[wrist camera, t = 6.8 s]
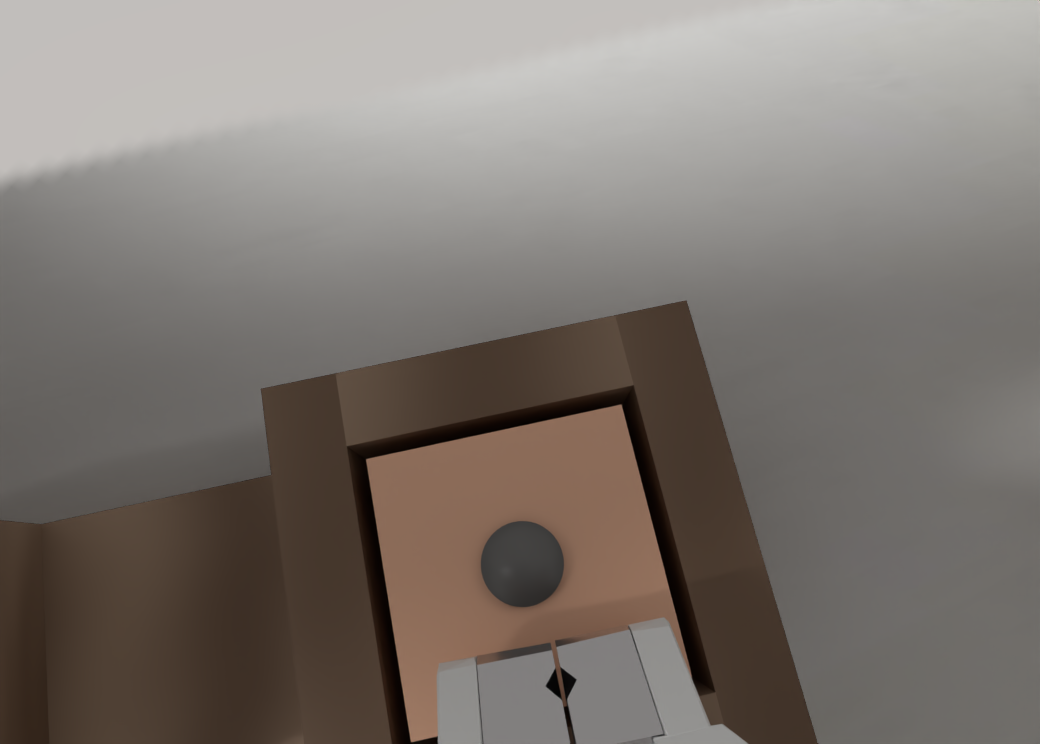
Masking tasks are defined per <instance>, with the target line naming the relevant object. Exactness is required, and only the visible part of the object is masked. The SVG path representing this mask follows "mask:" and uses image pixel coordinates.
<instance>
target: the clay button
mask: <svg viewBox="0 0 1040 744" xmlns="http://www.w3.org/2000/svg"><path fill="white" fill-rule="evenodd" d="M366 462H367V468H368V474H369V481H370V487H371V493H372V500H373V506H374V512H375V518H376V525H377V531H378V537H379V544H380V550H381V556H382V563H383V569H384V575H385V582H386V588H387V594H388V600H389V607H390V613H391V619H392V626H393V632H394V638H395V645H396V651H397V657H398V664H399V670H400V676H401V683H402V689H403V695H404V701H405V708H406V714H407V720H408V727H409V733H410V739H411V742H415V741H419V740H424V739H428V738H432V737H437V736H438V720H437V671H438V666H439V663H444V662H449V661H454V660H459V659H465V658H470V657H475V656H479V655H484V654H490V653H495V652H501V651H506V650H512V649H517V648H523V647H529V646H534V645H540V644H545V643H551V647H552V652H553V657H554V662H555V667H556V672H557V677H558V682H559V687H560V692H561V697H562V702H563V707H565V706H567V703H566V698H565V693H564V688H563V683H562V677H561V672H560V667H559V661H558V656H557V650H556V645H555V640H559V639H563V638H568V637H572V636H577V635H581V634H586V633H590V632H595V631H599V630H604V629H608V628H613V627H617V626H622V625H627V627H628V625H629V624H634V623H639V622H644V621H648V620H653V619H658V618H663V617H664V618H665V619H666V620H667V621H668V622H669V623H670V625H671V628H672V630H673V633H674V635H675V638H676V640H677V643H678V645H679V648H680V650H681V653H682V655H683V658H684V660H685V663H686V665H687V668H688V670H689V673H690V675H691V677H692V674H691V670H690V666H689V663H688V659H687V655H686V651H685V647H684V643H683V640H682V636H681V632H680V628H679V624H678V620H677V616H676V613H675V609H674V605H673V601H672V597H671V593H670V589H669V586H668V582H667V578H666V574H665V570H664V566H663V562H662V559H661V555H660V551H659V547H658V543H657V539H656V536H655V532H654V528H653V524H652V520H651V516H650V512H649V509H648V505H647V501H646V497H645V493H644V489H643V485H642V482H641V478H640V474H639V470H638V466H637V462H636V459H635V455H634V451H633V447H632V443H631V439H630V435H629V432H628V428H627V424H626V420H625V416H624V412H623V408H622V405H617V406H612V407H607V408H603V409H598V410H593V411H589V412H584V413H579V414H575V415H570V416H565V417H561V418H556V419H551V420H547V421H542V422H537V423H533V424H528V425H523V426H519V427H514V428H509V429H505V430H500V431H495V432H491V433H486V434H481V435H477V436H472V437H467V438H463V439H458V440H453V441H449V442H444V443H439V444H435V445H430V446H425V447H420V448H416V449H411V450H406V451H402V452H397V453H392V454H388V455H383V456H378V457H374V458H369V459H366Z"/></svg>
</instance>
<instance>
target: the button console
mask: <svg viewBox="0 0 1040 744" xmlns="http://www.w3.org/2000/svg"><path fill="white" fill-rule="evenodd" d="M261 394H262V402H263V410H264V419H265V427H266V435H267V443H268V451H269V459H270V468H271V475H269V476H265V477H260V478H255V479H251V480H246V481H241V482H237V483H232V484H227V485H223V486H218V487H213V488H209V489H204V490H199V491H195V492H190V493H185V494H181V495H176V496H171V497H167V498H162V499H157V500H152V501H148V502H143V503H138V504H134V505H129V506H124V507H120V508H115V509H110V510H106V511H101V512H96V513H92V514H87V515H82V516H78V517H73V518H68V519H64V520H59V521H54V522H50V523H45V524H34V523H23V522H12V521H1V520H0V744H438V736H437V737H432V738H428V739H424V740H419V741H415V742H411V739H410V733H409V727H408V720H407V714H406V708H405V701H404V695H403V689H402V683H401V676H400V670H399V664H398V657H397V651H396V645H395V638H394V632H393V626H392V619H391V613H390V607H389V600H388V594H387V588H386V582H385V575H384V569H383V563H382V556H381V550H380V544H379V537H378V531H377V525H376V518H375V512H374V506H373V500H372V493H371V487H370V481H369V474H368V468H367V462H366V459H369V458H374V457H378V456H383V455H388V454H392V453H397V452H402V451H406V450H411V449H416V448H420V447H425V446H430V445H435V444H439V443H444V442H449V441H453V440H458V439H463V438H467V437H472V436H477V435H481V434H486V433H491V432H495V431H500V430H505V429H509V428H514V427H519V426H523V425H528V424H533V423H537V422H542V421H547V420H551V419H556V418H561V417H565V416H570V415H575V414H579V413H584V412H589V411H593V410H598V409H603V408H607V407H612V406H617V405H622V408H623V412H624V416H625V420H626V424H627V428H628V432H629V435H630V439H631V443H632V447H633V451H634V455H635V459H636V462H637V466H638V470H639V474H640V478H641V482H642V485H643V489H644V493H645V497H646V501H647V505H648V509H649V512H650V516H651V520H652V524H653V528H654V532H655V536H656V539H657V543H658V547H659V551H660V555H661V559H662V562H663V566H664V570H665V574H666V578H667V582H668V586H669V589H670V593H671V597H672V601H673V605H674V609H675V613H676V616H677V620H678V624H679V628H680V632H681V636H682V640H683V643H684V647H685V651H686V655H687V659H688V663H689V666H690V670H691V674H692V677H691V678H692V680H693V683H694V685H695V688H696V690H697V693H698V695H699V698H700V700H701V703H702V705H703V708H704V710H705V713H706V715H707V718H708V720H709V723H710V725H711V726H712V725H718V724H723V725H725V726H726V727H727V728H729V729H730V730H731V731H732V732H734V733H735V734H736V735H738V736H739V737H740V738H742V739H743V740H744V741H745V742H747V743H748V744H818V743H817V739H816V736H815V733H814V729H813V726H812V722H811V719H810V716H809V712H808V709H807V706H806V702H805V699H804V695H803V692H802V689H801V685H800V682H799V679H798V675H797V672H796V669H795V665H794V662H793V658H792V655H791V652H790V648H789V645H788V642H787V638H786V635H785V631H784V628H783V625H782V621H781V618H780V615H779V611H778V608H777V604H776V601H775V598H774V594H773V591H772V588H771V584H770V581H769V577H768V574H767V571H766V567H765V564H764V561H763V557H762V554H761V550H760V547H759V544H758V540H757V537H756V534H755V530H754V527H753V523H752V520H751V517H750V513H749V510H748V507H747V503H746V500H745V496H744V493H743V490H742V486H741V483H740V480H739V476H738V473H737V469H736V466H735V463H734V459H733V456H732V453H731V449H730V446H729V442H728V439H727V436H726V432H725V429H724V426H723V422H722V419H721V415H720V412H719V409H718V405H717V402H716V399H715V395H714V392H713V388H712V385H711V382H710V378H709V375H708V372H707V368H706V365H705V361H704V358H703V355H702V351H701V348H700V345H699V341H698V338H697V334H696V331H695V328H694V324H693V321H692V318H691V314H690V311H689V307H688V304H687V301H681V302H677V303H672V304H667V305H662V306H657V307H652V308H648V309H643V310H638V311H633V312H628V313H624V314H619V315H614V316H609V317H604V318H600V319H595V320H590V321H585V322H580V323H576V324H571V325H566V326H561V327H556V328H551V329H547V330H542V331H537V332H532V333H527V334H523V335H518V336H513V337H508V338H503V339H499V340H494V341H489V342H484V343H479V344H475V345H470V346H465V347H460V348H455V349H450V350H446V351H441V352H436V353H431V354H426V355H422V356H417V357H412V358H407V359H402V360H398V361H393V362H388V363H383V364H378V365H374V366H369V367H364V368H359V369H354V370H349V371H345V372H340V373H335V374H330V375H325V376H321V377H316V378H311V379H306V380H301V381H297V382H292V383H287V384H282V385H277V386H273V387H268V388H263V389H261ZM563 708H564V713H565V718H566V722H567V727H568V732H569V737H570V743H571V744H574V739H573V734H572V729H571V724H570V719H569V714H568V708H567V706H565V707H563Z"/></svg>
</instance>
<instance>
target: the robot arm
mask: <svg viewBox="0 0 1040 744" xmlns="http://www.w3.org/2000/svg"><path fill="white" fill-rule="evenodd" d="M555 645H556V650H557V656H558V661H559V667H560V672H561V677H562V683H563V688H564V693H565V698H566V703H567V708H568V714H569V719H570V724H571V729H572V734H573V739H574V744H748V743H747V742H745V741H744V740H743V739H742V738H740V737H739V736H738V735H736V734H735V733H734V732H732V731H731V730H730V729H729V728H727V727H726V726H725V725H723V724H718V725H712V726H711V725H710V723H709V720H708V718H707V715H706V713H705V710H704V708H703V705H702V703H701V700H700V698H699V695H698V693H697V690H696V688H695V685H694V683H693V680H692V678H691V675H690V673H689V670H688V668H687V665H686V663H685V660H684V658H683V655H682V653H681V650H680V648H679V645H678V643H677V640H676V638H675V635H674V633H673V630H672V628H671V625H670V623H669V622H668V621H667V620H666V619H665V618H664V617H663V618H658V619H653V620H648V621H644V622H639V623H634V624H629V625H628V627H627V625H622V626H617V627H613V628H608V629H604V630H599V631H595V632H590V633H586V634H581V635H577V636H572V637H568V638H563V639H559V640H555ZM437 720H438V744H571V743H570V737H569V732H568V727H567V722H566V718H565V713H564V708H563V702H562V697H561V692H560V687H559V682H558V677H557V672H556V667H555V662H554V657H553V652H552V647H551V643H545V644H540V645H534V646H529V647H523V648H517V649H512V650H506V651H501V652H495V653H490V654H484V655H479V656H475V657H470V658H465V659H459V660H454V661H449V662H444V663H439V666H438V671H437Z"/></svg>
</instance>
